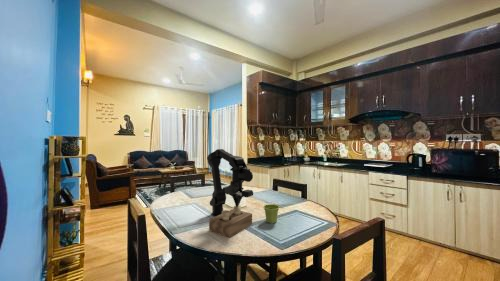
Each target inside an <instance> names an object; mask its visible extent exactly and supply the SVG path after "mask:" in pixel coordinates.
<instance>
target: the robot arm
mask: <svg viewBox="0 0 500 281" xmlns="http://www.w3.org/2000/svg"><path fill="white" fill-rule="evenodd" d="M222 159H223V160H225V161H226V162H228V165H229V166H230V167H231V168H230V171H231V172H232V174H231V178H232V180H231V181H230V184H229V185H226V186H224V187H222V186H223V185H222V181H221V173H220V166H221V165H220V164H221V160H222ZM244 159H245V158H243V157H242V156H238V155H234V154H231V153H230V152H228V151H226V150H225V149H224V148H219V149H216V150H215V151H213V152H210V153H209V154H208V155H207V157H206V160H207V164H208V165H209V167H210V168H211V174H212V175H211V176H212V182H213V183H212V184H213V192H212V193H211V194H212V195H211V196H212V197H211V199H210V201H209V206H211V207H212V208H211V209H212V212H211V213H210V215H211V216H213V217H216V216H218V215H220V214H222V211H224V206H223V205H226V200H227V195H229V196H230V197H231V198H232V199H233V202H234V204H235V205H234V206H236V207H238V206H240V204H241V201H242V199H243V197H244V198H249V197H252V196H254V190H252V189H244V187H243V183H245V182H246V183H247V182H248V183H249V182H251V181H252V180H253V178H254V174H253V172H252V171H251V169H250V168H248V165H247V163H246V162H245V160H244Z"/></svg>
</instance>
